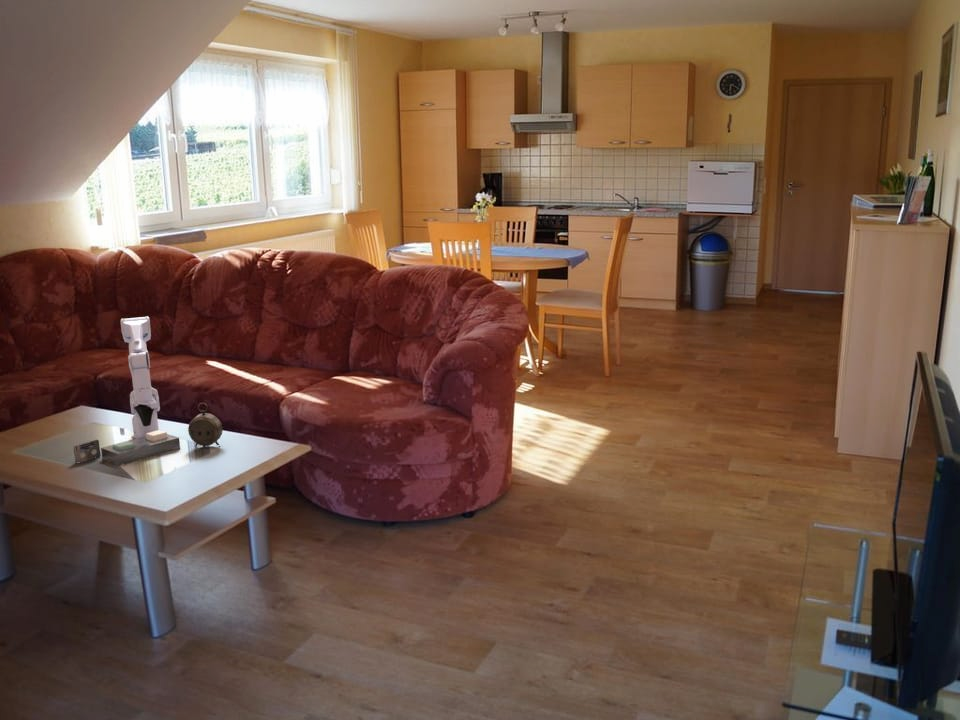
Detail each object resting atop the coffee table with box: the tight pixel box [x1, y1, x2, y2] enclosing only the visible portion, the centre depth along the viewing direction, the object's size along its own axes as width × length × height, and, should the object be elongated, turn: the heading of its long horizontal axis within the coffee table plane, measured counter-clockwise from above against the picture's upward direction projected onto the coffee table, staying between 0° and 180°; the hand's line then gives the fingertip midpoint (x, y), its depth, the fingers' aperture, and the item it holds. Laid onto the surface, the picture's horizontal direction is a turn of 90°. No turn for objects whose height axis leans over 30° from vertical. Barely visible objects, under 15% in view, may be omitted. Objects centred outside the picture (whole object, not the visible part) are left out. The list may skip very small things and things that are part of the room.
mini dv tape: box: [73, 439, 102, 463], centre depth 292 cm, size 8×2×6 cm, turn 144°
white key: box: [146, 429, 168, 442], centre depth 300 cm, size 5×5×4 cm
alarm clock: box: [187, 402, 223, 450], centre depth 299 cm, size 11×5×16 cm, turn 84°
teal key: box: [112, 440, 135, 451], centre depth 292 cm, size 5×5×4 cm
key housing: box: [100, 433, 181, 467], centre depth 296 cm, size 12×22×4 cm, turn 140°
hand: (146, 425), depth 297 cm, fingers closed
